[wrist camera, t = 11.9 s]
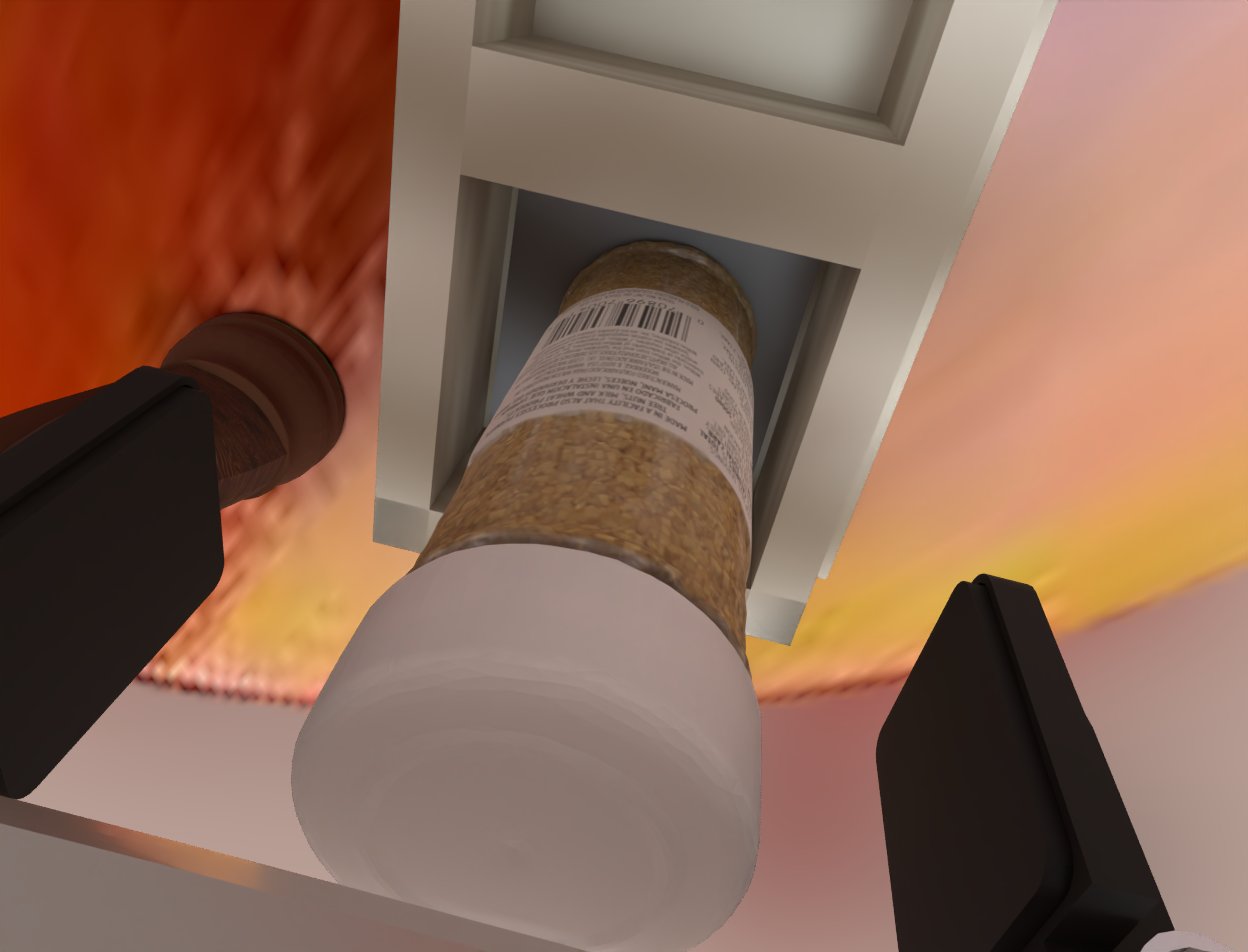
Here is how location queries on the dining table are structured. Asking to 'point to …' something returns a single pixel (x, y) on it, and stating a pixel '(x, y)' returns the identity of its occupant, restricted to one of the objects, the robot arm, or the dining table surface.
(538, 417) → the sprinkles bottle
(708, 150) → the slot rack
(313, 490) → the dining table surface
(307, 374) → the chess piece
